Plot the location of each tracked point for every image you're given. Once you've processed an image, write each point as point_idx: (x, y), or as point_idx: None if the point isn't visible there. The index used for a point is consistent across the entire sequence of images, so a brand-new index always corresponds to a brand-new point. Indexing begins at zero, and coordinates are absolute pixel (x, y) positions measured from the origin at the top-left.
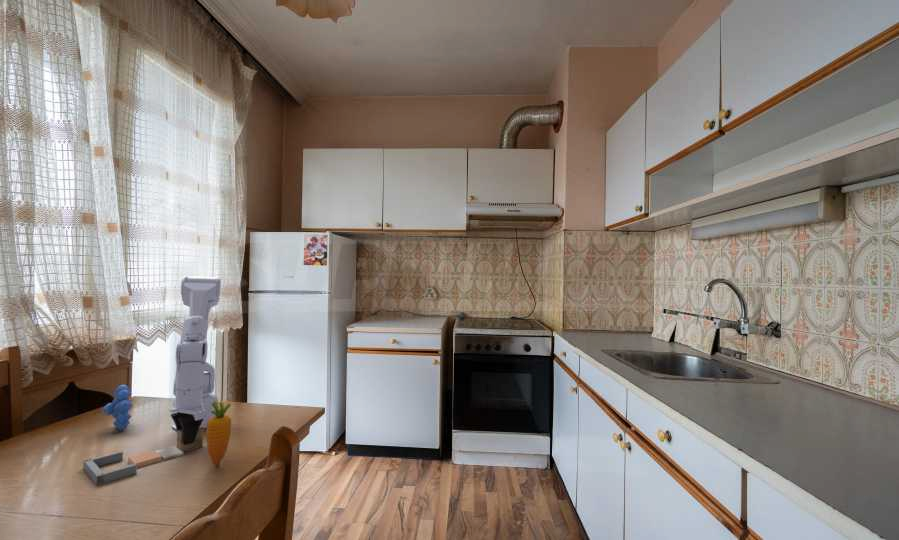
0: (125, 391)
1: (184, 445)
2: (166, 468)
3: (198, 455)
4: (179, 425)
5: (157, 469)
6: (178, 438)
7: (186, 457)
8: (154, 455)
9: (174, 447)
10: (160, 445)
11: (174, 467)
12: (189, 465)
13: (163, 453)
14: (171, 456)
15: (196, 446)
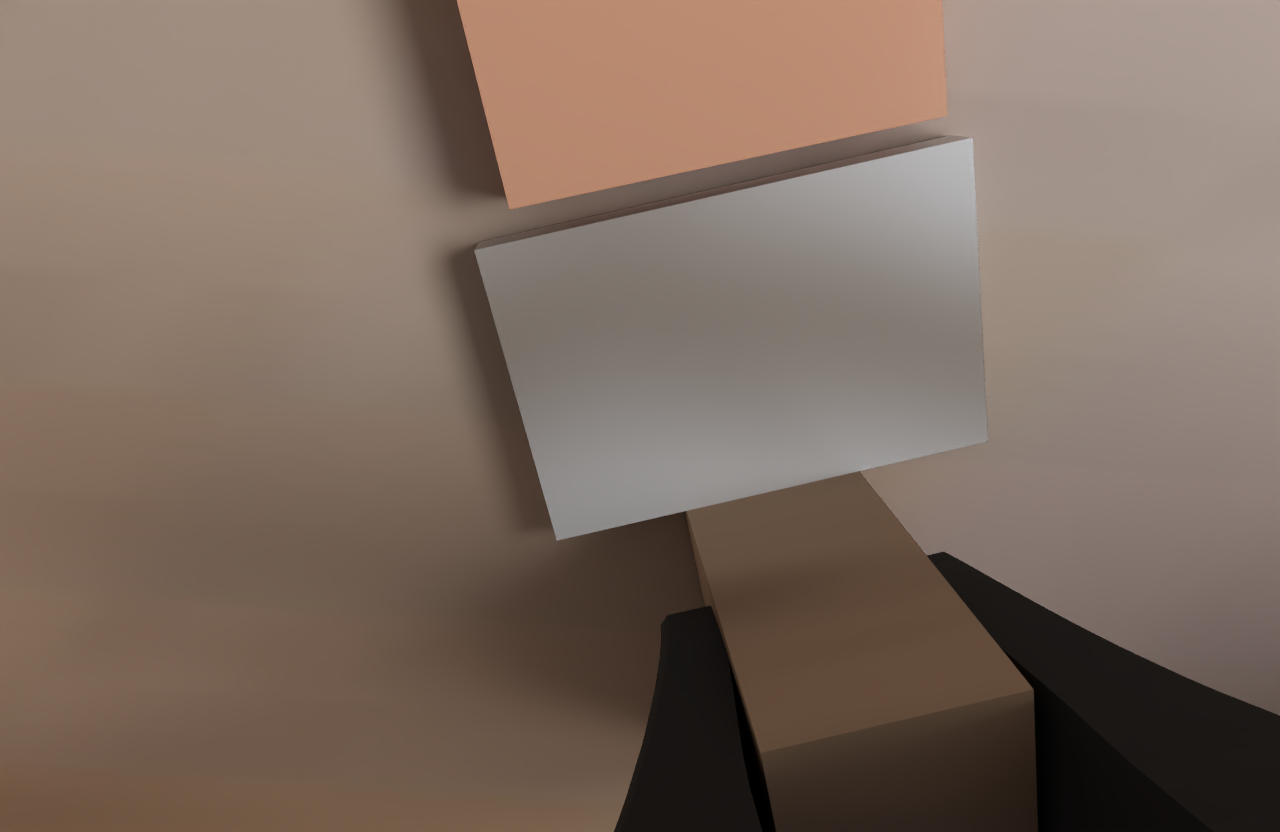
0: None
1: (708, 599)
2: (66, 244)
3: (402, 686)
4: (1123, 810)
5: (90, 101)
6: (873, 584)
7: (418, 547)
8: (641, 94)
9: (897, 442)
10: (1269, 255)
11: (52, 360)
12: (34, 556)
13: (723, 260)
14: (507, 365)
15: None
